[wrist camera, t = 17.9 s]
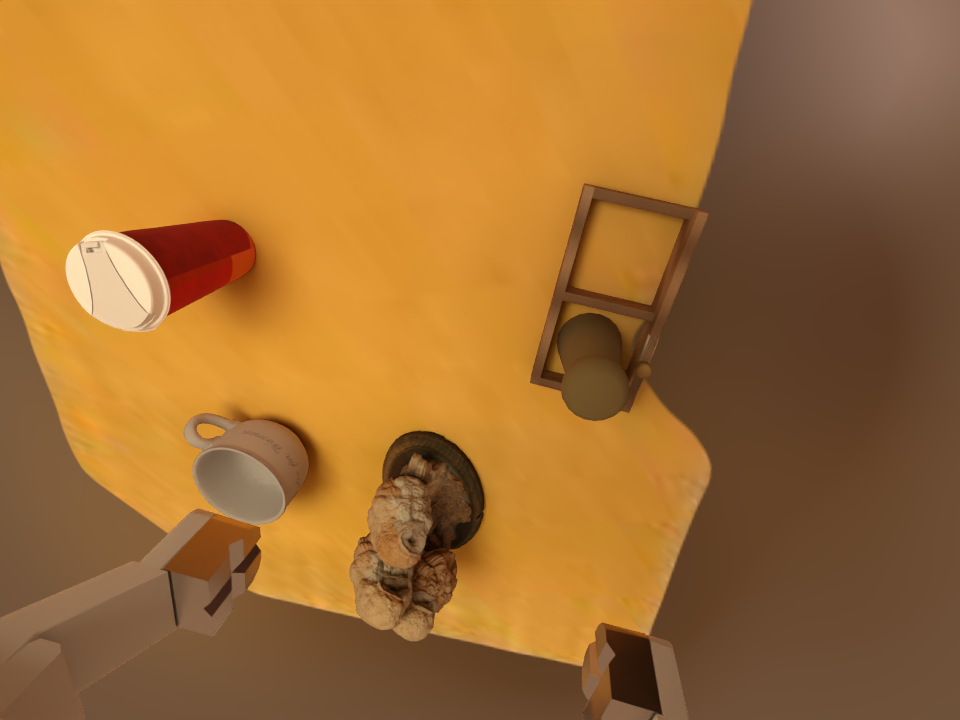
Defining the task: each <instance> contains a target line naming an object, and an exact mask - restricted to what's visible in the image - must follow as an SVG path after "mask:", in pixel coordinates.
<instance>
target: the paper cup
mask: <svg viewBox="0 0 960 720" xmlns="http://www.w3.org/2000/svg"><path fill="white" fill-rule="evenodd" d="M255 259H256V251H255V246H254V244H253V241H252V239H251V237H250V236H249V234H248V233H247V232H246V231H245V230H244V229H243V228H242V227H241V226H239V225H238V224H236V223H234V222H231V221H228V220H213V221H204V222H196V223H188V224H180V225H173V226H165V227H158V228H149V229H140V230H131V231H125V232H114V231H106V230H102V231H96V232H93V233H91V234H88V235H87V236H86V237H84V238H83V240H82V241H81V242H79V243H78V244H76V245H75V246H74V247H73V248H72V249H71V251H70V252H69V254H68V256H67V260H66V276H67V280H68V283H69V286H70V288H71V290H72V292H73V294H74V296H75V297H76V299H77V300H78V302H79V303H80V304H81V306H82V307H83V308H84V309H85V310H86V311H87V312H88V313H89V314H90V315H92V316H93V317H95V318H96V319H98V320H99V321H101V322H103V323H105V324H107V325H109V326H112V327H115V328H120V329H122V330H126V331H139V332H144V331H150V330H154V329H156V328H157V326H158V325H159V324H160V323H162V322H163V321H164V319H165V318H166V316H168V315H170V314H172V313H174V312H175V311H177V310H179V309H181V308H183V307H185V306H187V305H189V304H191V303H193V302H194V301H196V300H198V299H200V298H202V297H204V296H206V295H208V294H210V293H212V292H213V291H215V290H217V289H219V288H221V287H223V286H225V285H227V284H228V283H230V282H232V281H234V280H236V279H238V278H239V277H241V276H243V275H244V274H246V273H247V272H249V271H250V270H251V269H252V267H253V265H254V263H255Z"/></svg>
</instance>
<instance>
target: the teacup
mask: <svg viewBox="0 0 960 720" xmlns="http://www.w3.org/2000/svg"><path fill="white" fill-rule="evenodd" d="M201 423H206V424H212V425H215V426H218V427H221V428H222V429H224V430H226V431H227V432H226V433H224V434H223V435H222V436H216V437H214V438H211V439H206V438H202V437H201V436H200V435H199V434H198V432H197V425H198V424H201ZM184 436H185V439H186V440H187V442H188V443H189V444H190V445H192V446H193V447H196V448H199V449H203V450H204V451H202V452H201V453H200V454H199V455H198V456H197V458H196V460H195V462H194V464H193V477H194V480H195V483H196V485H197V487H198V489H199V491H200V493H201V494H202V495H203V497H204V498H205V499H206V500H207V501H208V502H209V503H210V504H211V505H212V506H213V507H214V508H216V509H217V510H218V511H220V512H221V513H223V514H224V515H227V516H228V517H230V518H232V519H235V520H238V521H241V522H245V523H248V524H255V525H258V524H267V523H271V522H274V521H275V520H277V519H278V518H279V517H281V516H282V514H283V513H284V511H285V509H286V507H287V506H288V504H289V503H290V502H291V500H292V499H293V498H294V496H295V495H296V494H297V492H298V491H299V489H300V488H301V486H302V484H303V483H304V481H305V479H306V477H307V474H308V469H309V460H308V455H307V452H306V450H305V448H304V446H303V444H302V443H301V441H300V439H299V438H298V437H297V436H296V435H295V434H294V433H293V432H292V431H291V430H290V429H288V428H287V427H285V426H283V425H280V424H278V423H275V422H272V421H269V420H263V419H253V420H248V421H244V422H240V421H239V420H230V419H227V418H225V417H222V416H219V415H215V414H209V413H204V414H199V415H196V416H194V417H193V418H191V419H190V420H189V421H188V422H187V424H186V426H185V428H184Z"/></svg>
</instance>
